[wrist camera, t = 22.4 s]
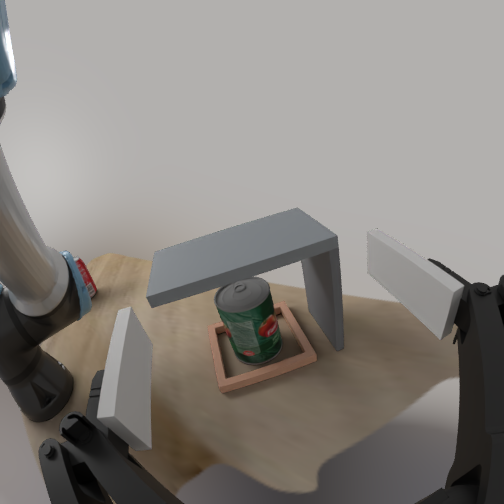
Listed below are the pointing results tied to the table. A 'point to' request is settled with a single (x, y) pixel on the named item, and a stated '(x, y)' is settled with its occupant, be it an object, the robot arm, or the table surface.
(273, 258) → the awning
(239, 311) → the canned tomato
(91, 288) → the soda can
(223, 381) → the pink square frame
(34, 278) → the robot arm
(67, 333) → the table surface
